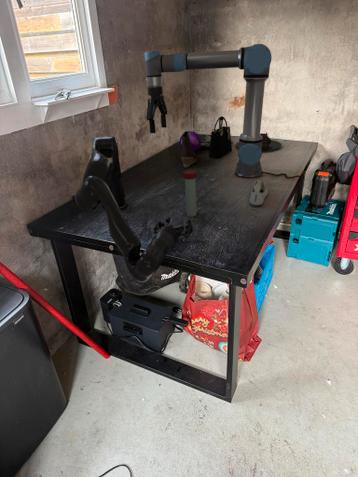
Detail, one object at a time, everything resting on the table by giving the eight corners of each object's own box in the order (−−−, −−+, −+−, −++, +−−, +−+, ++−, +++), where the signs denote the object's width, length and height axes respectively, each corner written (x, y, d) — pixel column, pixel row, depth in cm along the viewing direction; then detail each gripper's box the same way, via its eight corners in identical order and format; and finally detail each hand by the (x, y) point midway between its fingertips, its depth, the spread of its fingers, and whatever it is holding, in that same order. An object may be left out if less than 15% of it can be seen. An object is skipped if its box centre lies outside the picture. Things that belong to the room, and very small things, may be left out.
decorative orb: (204, 151, 235) (204, 129, 228) (194, 156, 225) (193, 134, 217) (186, 149, 243) (186, 128, 235) (175, 154, 232) (174, 132, 224)
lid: (182, 176, 141) (182, 170, 140) (194, 174, 142) (194, 169, 140) (185, 180, 136) (185, 174, 135) (197, 178, 137) (197, 173, 136)
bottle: (185, 213, 149) (183, 172, 140) (195, 211, 150) (193, 170, 140) (188, 217, 145) (186, 175, 136) (197, 215, 146) (196, 174, 137)
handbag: (220, 159, 217) (220, 119, 204) (207, 157, 221) (207, 119, 208) (232, 151, 231) (233, 113, 219) (221, 150, 236) (221, 113, 223)
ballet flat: (269, 188, 169) (270, 173, 165) (265, 208, 149) (266, 191, 145) (252, 187, 171) (253, 172, 167) (246, 206, 151) (247, 190, 147)
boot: (199, 157, 223) (198, 126, 213) (193, 168, 203) (192, 135, 193) (186, 157, 225) (185, 126, 215) (179, 168, 205) (177, 135, 195)
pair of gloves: (198, 151, 236) (198, 144, 233) (184, 143, 256) (183, 137, 254) (234, 145, 246) (235, 137, 243) (218, 138, 266) (218, 131, 263)
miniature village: (250, 138, 260) (251, 126, 256) (289, 145, 237) (291, 132, 233) (223, 147, 242) (223, 134, 237) (263, 155, 219) (264, 141, 215)
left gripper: (147, 247, 122) (163, 226, 135) (183, 252, 117) (196, 230, 130) (145, 229, 118) (162, 210, 131) (182, 234, 113) (196, 213, 126)
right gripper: (158, 83, 175) (162, 125, 185) (136, 89, 155) (141, 135, 166) (171, 83, 172) (174, 125, 183) (150, 89, 152) (154, 135, 163)
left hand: (179, 220), depth 131 cm, fingers open, 8 cm apart
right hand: (158, 130), depth 174 cm, fingers open, 13 cm apart
